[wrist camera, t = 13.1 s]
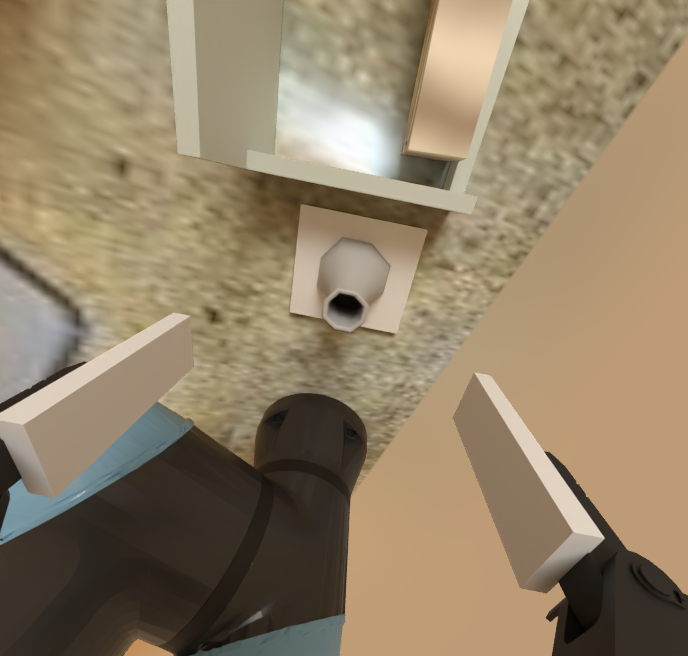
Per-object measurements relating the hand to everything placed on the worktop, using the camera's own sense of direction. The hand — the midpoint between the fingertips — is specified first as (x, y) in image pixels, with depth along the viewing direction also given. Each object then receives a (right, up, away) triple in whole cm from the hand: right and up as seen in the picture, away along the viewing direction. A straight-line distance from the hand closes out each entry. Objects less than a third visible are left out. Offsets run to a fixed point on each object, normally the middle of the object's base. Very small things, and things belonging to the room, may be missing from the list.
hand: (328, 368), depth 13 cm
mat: (+2, +8, +16) cm, 18 cm away
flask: (+2, +7, +15) cm, 17 cm away
